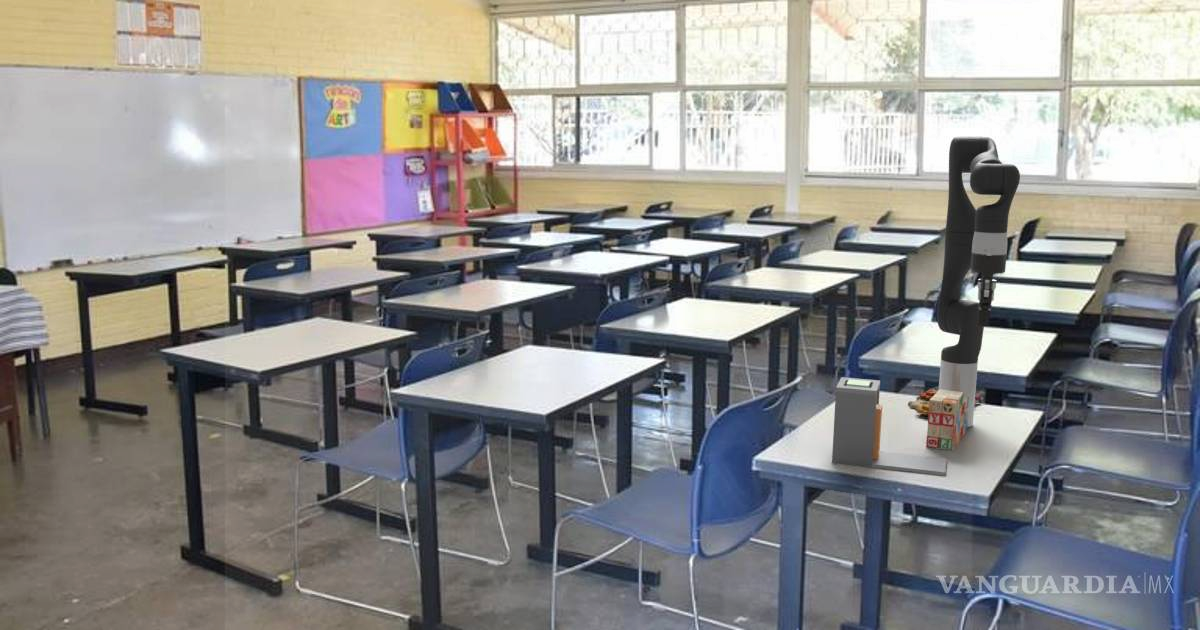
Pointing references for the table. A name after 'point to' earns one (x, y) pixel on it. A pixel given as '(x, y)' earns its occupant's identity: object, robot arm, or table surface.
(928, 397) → the gear puzzle
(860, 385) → the on button
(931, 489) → the table surface
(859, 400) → the grey tower on baseplate
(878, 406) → the orange upright cuboid
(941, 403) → the stack of blocks
